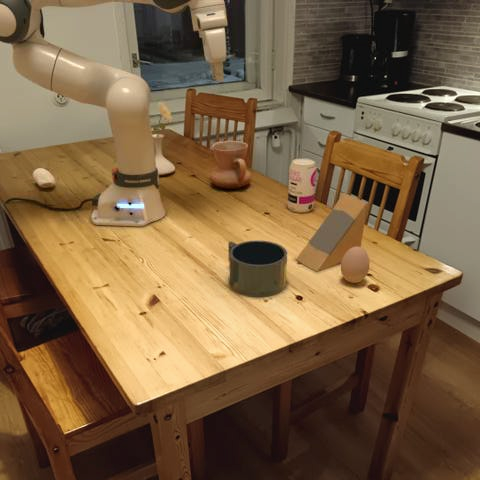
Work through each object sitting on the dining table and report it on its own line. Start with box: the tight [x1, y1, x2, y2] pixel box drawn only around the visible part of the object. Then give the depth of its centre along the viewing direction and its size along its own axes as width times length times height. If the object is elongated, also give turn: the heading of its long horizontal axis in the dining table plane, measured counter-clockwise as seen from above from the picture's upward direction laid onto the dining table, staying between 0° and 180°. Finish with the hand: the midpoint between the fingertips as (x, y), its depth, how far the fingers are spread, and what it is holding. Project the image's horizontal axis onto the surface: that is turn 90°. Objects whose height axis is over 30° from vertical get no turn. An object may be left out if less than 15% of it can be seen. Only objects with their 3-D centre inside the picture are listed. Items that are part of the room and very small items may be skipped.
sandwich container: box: [295, 192, 368, 272], centre depth 128 cm, size 9×15×15 cm, turn 124°
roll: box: [32, 167, 56, 189], centre depth 176 cm, size 6×12×6 cm, turn 32°
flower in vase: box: [152, 101, 176, 176], centre depth 185 cm, size 13×11×25 cm
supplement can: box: [287, 158, 318, 214], centre depth 157 cm, size 8×8×15 cm
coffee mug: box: [228, 240, 288, 298], centre depth 120 cm, size 18×13×8 cm
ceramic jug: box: [209, 140, 252, 190], centre depth 175 cm, size 18×14×14 cm
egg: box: [340, 246, 370, 284], centre depth 119 cm, size 7×7×9 cm
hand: (218, 80), depth 134 cm, fingers open, 8 cm apart
